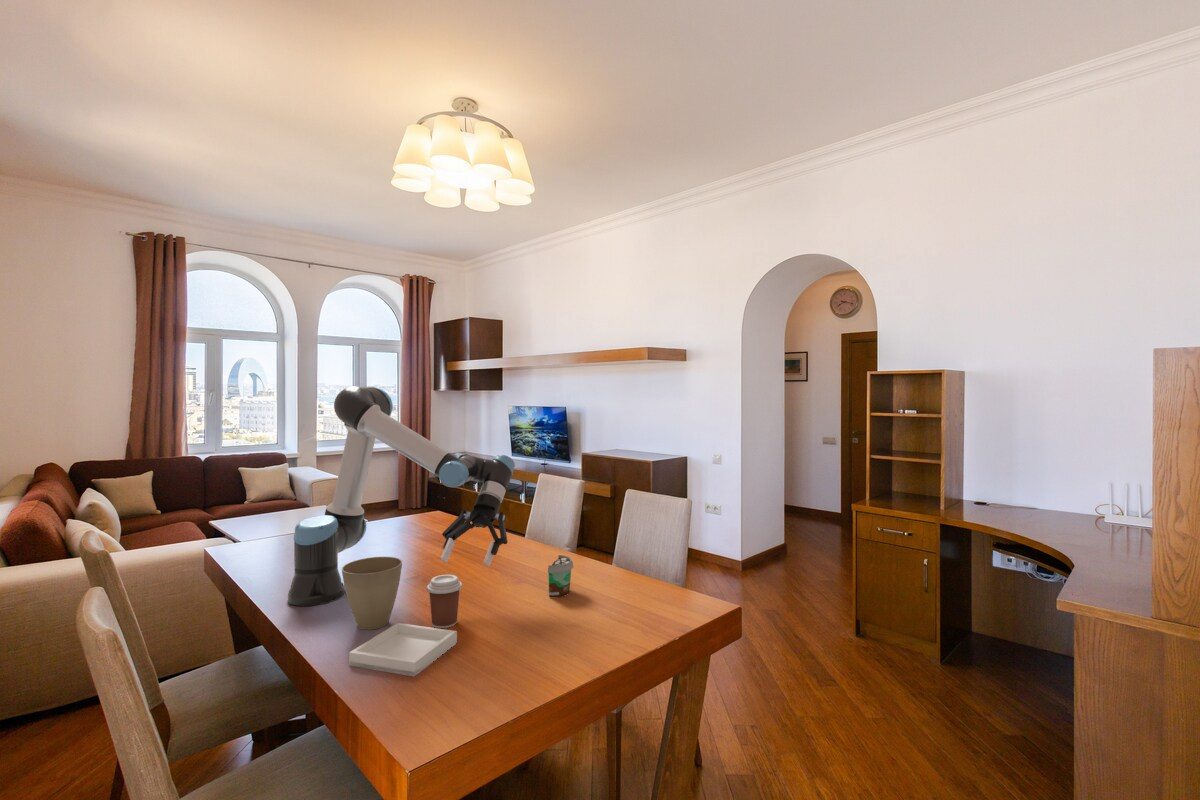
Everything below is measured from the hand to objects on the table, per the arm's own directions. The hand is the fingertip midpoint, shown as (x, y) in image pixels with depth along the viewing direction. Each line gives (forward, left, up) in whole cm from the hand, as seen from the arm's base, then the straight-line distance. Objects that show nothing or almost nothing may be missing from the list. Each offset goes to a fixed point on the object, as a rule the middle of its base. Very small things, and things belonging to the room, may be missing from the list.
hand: (464, 562), depth 156 cm
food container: (+21, +22, -14) cm, 34 cm away
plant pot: (-19, -15, -14) cm, 28 cm away
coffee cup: (-1, -9, -14) cm, 17 cm away
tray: (0, -27, -14) cm, 30 cm away
